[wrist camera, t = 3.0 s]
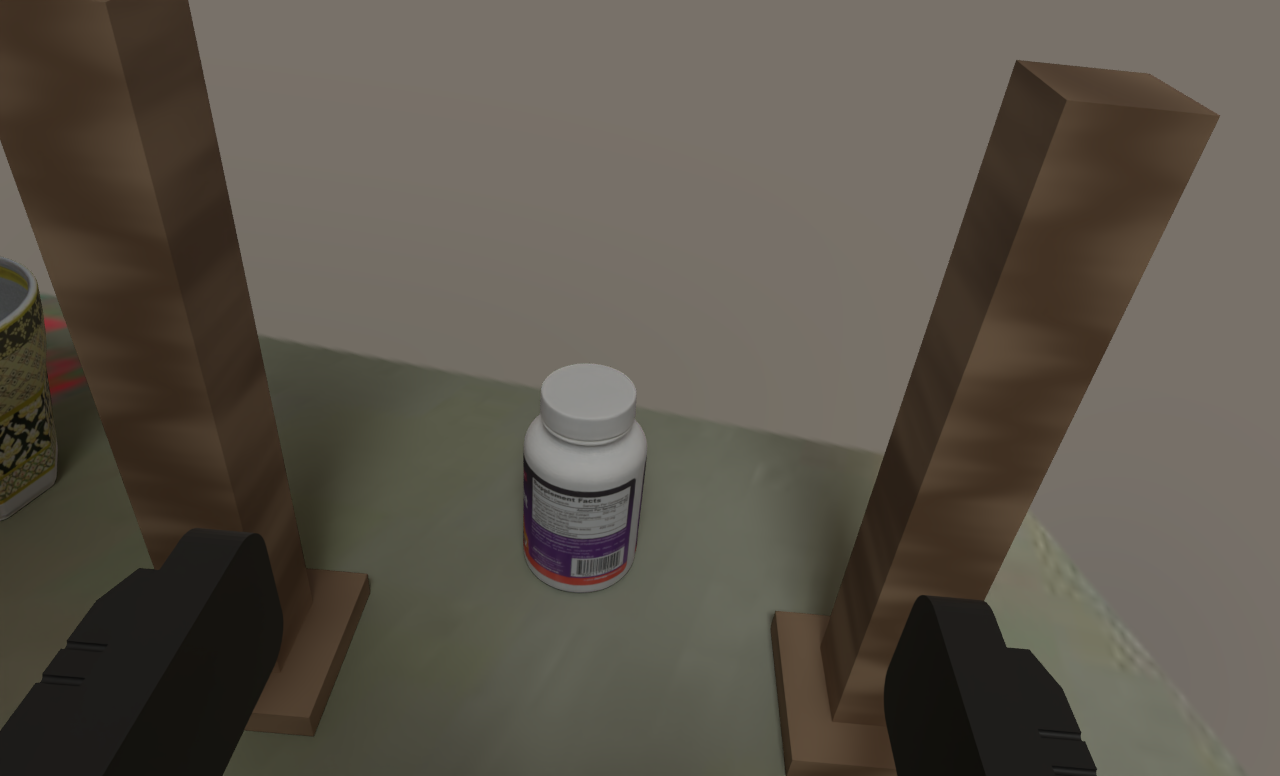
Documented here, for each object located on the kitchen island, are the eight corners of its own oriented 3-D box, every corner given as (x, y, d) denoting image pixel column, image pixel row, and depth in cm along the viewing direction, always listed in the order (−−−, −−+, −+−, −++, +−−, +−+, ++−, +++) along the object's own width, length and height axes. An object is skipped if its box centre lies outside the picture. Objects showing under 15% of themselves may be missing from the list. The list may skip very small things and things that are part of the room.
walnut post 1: (126, 719, 32) (-205, -8, 17) (212, 578, 37) (19, -57, 23) (313, 736, 32) (143, 28, 17) (370, 592, 37) (278, -31, 23)
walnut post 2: (786, 777, 32) (1015, 116, 17) (770, 628, 38) (933, 37, 23) (967, 793, 32) (1346, 150, 18) (924, 642, 38) (1183, 63, 23)
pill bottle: (553, 500, 43) (559, 341, 38) (651, 534, 42) (672, 374, 36) (501, 572, 39) (499, 405, 33) (608, 613, 38) (624, 445, 32)
